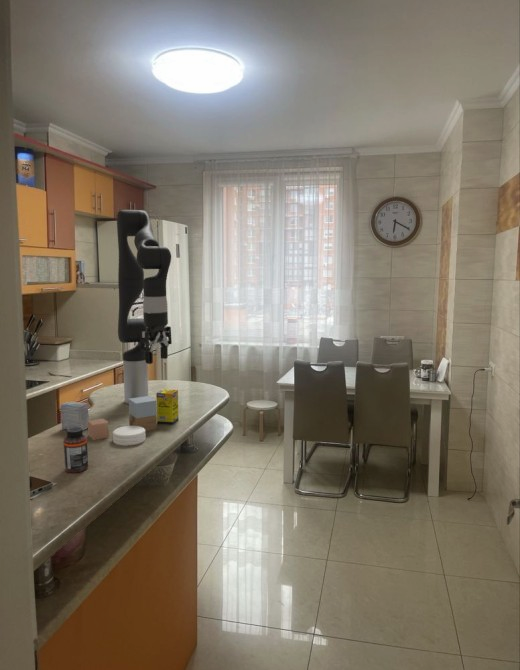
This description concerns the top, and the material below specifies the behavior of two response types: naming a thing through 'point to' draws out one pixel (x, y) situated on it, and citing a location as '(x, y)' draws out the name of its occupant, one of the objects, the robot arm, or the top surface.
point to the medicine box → (74, 415)
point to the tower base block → (144, 422)
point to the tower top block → (142, 407)
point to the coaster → (129, 435)
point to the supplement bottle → (75, 450)
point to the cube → (98, 429)
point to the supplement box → (167, 406)
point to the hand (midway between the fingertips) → (156, 360)
